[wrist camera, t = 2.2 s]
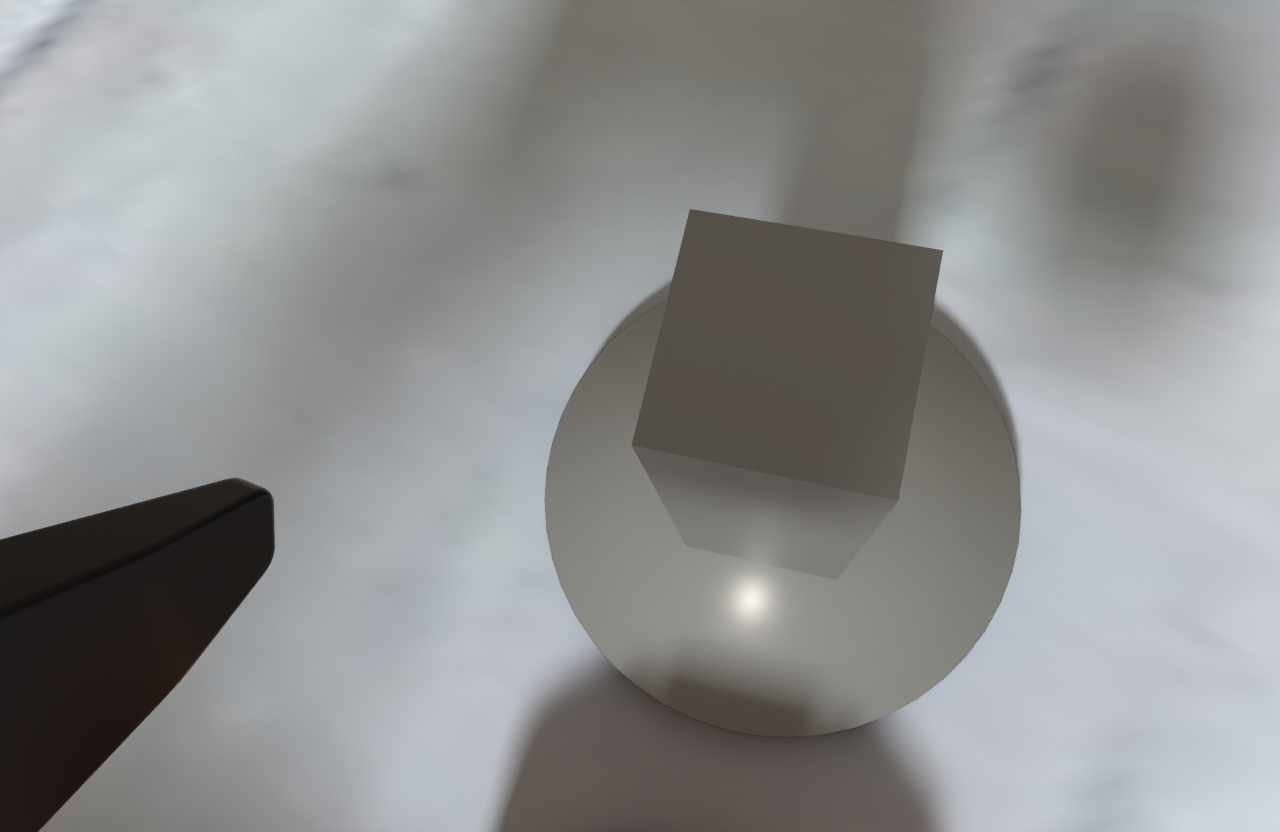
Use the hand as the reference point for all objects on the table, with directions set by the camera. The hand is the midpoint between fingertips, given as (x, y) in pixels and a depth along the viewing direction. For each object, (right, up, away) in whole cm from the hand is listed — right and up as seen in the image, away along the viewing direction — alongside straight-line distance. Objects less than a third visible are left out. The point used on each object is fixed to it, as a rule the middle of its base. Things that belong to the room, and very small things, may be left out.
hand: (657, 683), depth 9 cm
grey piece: (+3, +1, +14) cm, 14 cm away
